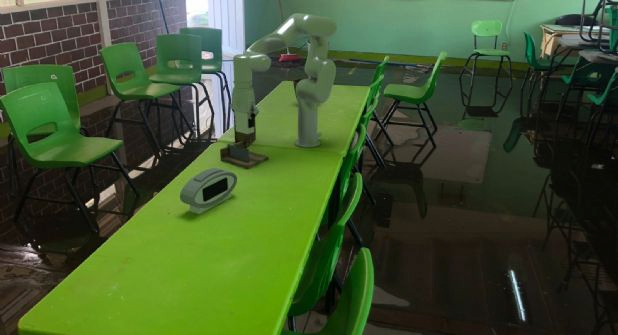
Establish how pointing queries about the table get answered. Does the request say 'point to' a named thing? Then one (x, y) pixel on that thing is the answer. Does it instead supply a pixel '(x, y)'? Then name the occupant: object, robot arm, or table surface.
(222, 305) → the table surface
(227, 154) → the shelf
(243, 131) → the plain rectangular box
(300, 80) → the plant pot
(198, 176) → the alarm clock
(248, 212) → the table surface
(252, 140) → the book
